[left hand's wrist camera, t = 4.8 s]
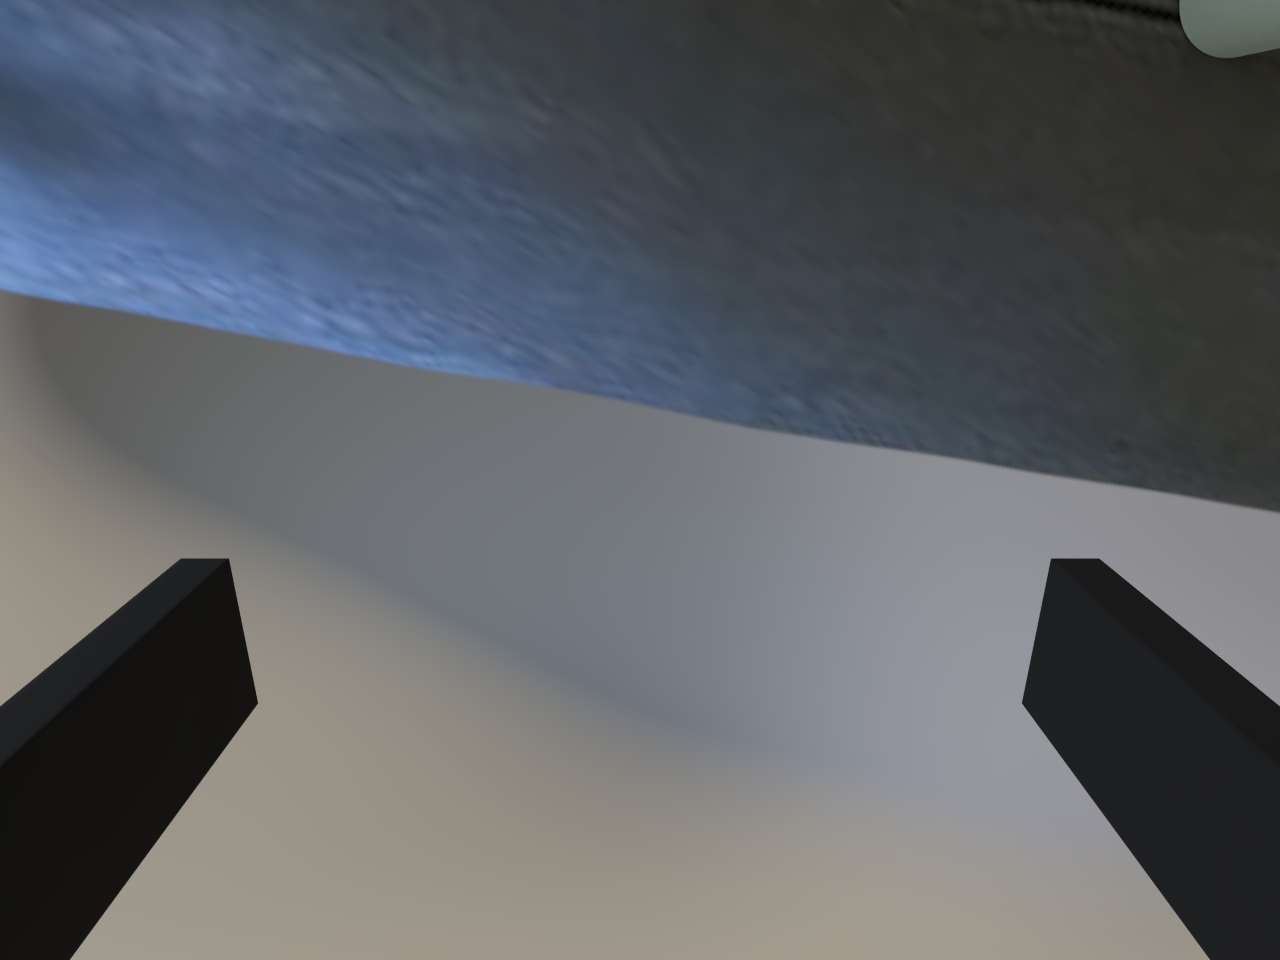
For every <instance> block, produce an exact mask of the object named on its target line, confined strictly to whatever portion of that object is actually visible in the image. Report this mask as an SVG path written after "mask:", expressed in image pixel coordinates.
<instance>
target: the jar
mask: <svg viewBox="0 0 1280 960" xmlns="http://www.w3.org/2000/svg"><path fill="white" fill-rule="evenodd" d="M1179 11H1180V19H1181V23H1182V26H1183V29H1184V31H1185V33H1186V35H1187V37H1188V39H1189V40H1190V41H1191V43H1192V44H1193V45H1194V46H1195V47H1196V48H1198V49H1199V50H1201V51H1202V52H1204V53H1206V54H1208V55H1210V56H1214V57H1219V58H1234V57H1240V56H1245V55H1249V54H1254V53H1259V52H1264V51H1268V50H1273V49H1278V48H1280V0H1180V1H1179Z"/></svg>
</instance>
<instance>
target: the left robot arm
mask: <svg viewBox="0 0 1280 960" xmlns="http://www.w3.org/2000/svg"><path fill="white" fill-rule="evenodd" d="M257 704H258V701H257V696H256V691H255V686H254V681H253V676H252V671H251V666H250V661H249V656H248V651H247V646H246V641H245V636H244V631H243V626H242V621H241V616H240V611H239V606H238V601H237V597H236V592H235V587H234V582H233V577H232V572H231V567H230V562H229V559H180V560H179V561H177V562H176V563H175V564H174V565H172V566H171V567H170V568H169V569H168V570H166V571H165V572H164V573H163V574H161V575H160V576H159V577H158V578H157V579H155V580H154V581H153V582H152V583H150V584H149V585H148V586H147V587H146V588H144V589H143V590H142V591H141V592H139V593H138V594H137V595H136V596H135V597H133V598H132V599H131V600H130V601H128V602H127V603H126V604H125V605H124V606H122V607H121V608H120V609H119V610H117V611H116V612H115V613H114V614H113V615H111V616H110V617H109V618H108V619H106V620H105V621H104V622H103V623H102V624H100V625H99V626H98V627H97V628H95V629H94V630H93V631H92V632H91V633H89V634H88V635H87V636H86V637H84V638H83V639H82V640H81V641H80V642H78V643H77V644H76V645H75V646H73V647H72V648H71V649H70V650H69V651H67V652H66V653H65V654H64V655H62V656H61V657H60V658H59V659H58V660H56V661H55V662H54V663H53V664H51V665H50V666H49V667H48V668H47V669H45V670H44V671H43V672H42V673H40V674H39V675H38V676H37V677H36V678H34V679H33V680H32V681H31V682H30V683H28V684H27V685H26V686H25V687H23V688H22V689H21V690H20V691H19V692H17V693H16V694H15V695H14V696H12V697H11V698H10V699H9V700H7V701H6V702H5V703H4V704H3V705H1V706H0V960H70V959H71V957H72V956H73V955H74V953H75V952H76V951H77V949H78V948H79V947H80V945H81V944H82V942H83V941H84V940H85V938H86V937H87V936H88V934H89V933H90V932H91V930H92V929H93V927H94V926H95V925H96V923H97V922H98V921H99V919H100V918H101V917H102V915H103V914H104V912H105V911H106V910H107V908H108V907H109V906H110V904H111V903H112V902H113V900H114V899H115V897H116V896H117V895H118V893H119V892H120V891H121V889H122V888H123V887H124V885H125V884H126V883H127V881H128V880H129V878H130V877H131V876H132V874H133V873H134V872H135V870H136V869H137V868H138V866H139V865H140V863H141V862H142V861H143V859H144V858H145V857H146V855H147V854H148V853H149V851H150V850H151V848H152V847H153V846H154V844H155V843H156V842H157V840H158V839H159V838H160V836H161V835H162V833H163V832H164V831H165V829H166V828H167V827H168V825H169V824H170V823H171V821H172V820H173V818H174V817H175V816H176V814H177V813H178V812H179V810H180V809H181V808H182V806H183V805H184V803H185V802H186V801H187V799H188V798H189V797H190V795H191V794H192V793H193V791H194V790H195V788H196V787H197V786H198V784H199V783H200V782H201V780H202V779H203V778H204V776H205V775H206V774H207V772H208V771H209V769H210V768H211V767H212V765H213V764H214V763H215V761H216V760H217V759H218V757H219V756H220V754H221V753H222V752H223V750H224V749H225V748H226V746H227V745H228V744H229V742H230V741H231V739H232V738H233V737H234V735H235V734H236V733H237V731H238V730H239V729H240V727H241V726H242V724H243V723H244V722H245V720H246V719H247V718H248V716H249V715H250V714H251V712H252V711H253V709H254V708H255V707H256V705H257ZM1022 704H1023V705H1024V707H1025V708H1026V709H1027V711H1028V712H1029V713H1030V715H1031V716H1032V718H1033V719H1034V720H1035V722H1036V723H1037V724H1038V726H1039V727H1040V729H1041V730H1042V731H1043V733H1044V734H1045V735H1046V737H1047V738H1048V739H1049V741H1050V742H1051V743H1052V745H1053V746H1054V748H1055V749H1056V750H1057V752H1058V753H1059V754H1060V756H1061V757H1062V758H1063V760H1064V761H1065V763H1066V764H1067V765H1068V767H1069V768H1070V769H1071V771H1072V772H1073V773H1074V775H1075V776H1076V778H1077V779H1078V780H1079V782H1080V783H1081V784H1082V786H1083V787H1084V788H1085V790H1086V791H1087V793H1088V794H1089V795H1090V797H1091V798H1092V799H1093V801H1094V802H1095V803H1096V805H1097V806H1098V808H1099V809H1100V810H1101V812H1102V813H1103V814H1104V816H1105V817H1106V818H1107V820H1108V821H1109V823H1110V824H1111V825H1112V827H1113V828H1114V829H1115V831H1116V832H1117V833H1118V835H1119V836H1120V837H1121V839H1122V840H1123V842H1124V843H1125V844H1126V846H1127V847H1128V848H1129V850H1130V851H1131V853H1132V854H1133V855H1134V857H1135V858H1136V859H1137V861H1138V862H1139V863H1140V865H1141V866H1142V867H1143V869H1144V870H1145V872H1146V873H1147V874H1148V876H1149V877H1150V878H1151V880H1152V881H1153V882H1154V884H1155V885H1156V887H1157V888H1158V889H1159V891H1160V892H1161V893H1162V895H1163V896H1164V897H1165V899H1166V900H1167V902H1168V903H1169V904H1170V906H1171V907H1172V908H1173V910H1174V911H1175V912H1176V914H1177V915H1178V917H1179V918H1180V919H1181V921H1182V922H1183V923H1184V925H1185V926H1186V927H1187V929H1188V930H1189V931H1190V933H1191V934H1192V936H1193V937H1194V938H1195V940H1196V941H1197V942H1198V944H1199V945H1200V947H1201V948H1202V949H1203V951H1204V952H1205V953H1206V955H1207V956H1208V957H1209V959H1210V960H1280V706H1279V705H1277V704H1276V703H1275V702H1274V701H1273V700H1271V699H1270V698H1269V697H1268V696H1266V695H1265V694H1264V693H1263V692H1262V691H1260V690H1259V689H1258V688H1257V687H1255V686H1254V685H1253V684H1252V683H1250V682H1249V681H1248V680H1247V679H1246V678H1244V677H1243V676H1242V675H1241V674H1239V673H1238V672H1237V671H1236V670H1235V669H1233V668H1232V667H1231V666H1230V665H1229V664H1227V663H1226V662H1225V661H1224V660H1222V659H1221V658H1220V657H1219V656H1217V655H1216V654H1215V653H1214V652H1213V651H1211V650H1210V649H1209V648H1208V647H1207V646H1205V645H1204V644H1203V643H1202V642H1200V641H1199V640H1198V639H1197V638H1196V637H1194V636H1193V635H1192V634H1191V633H1189V632H1188V631H1187V630H1186V629H1185V628H1183V627H1182V626H1181V625H1180V624H1178V623H1177V622H1176V621H1175V620H1174V619H1172V618H1171V617H1170V616H1169V615H1167V614H1166V613H1165V612H1164V611H1163V610H1161V609H1160V608H1159V607H1158V606H1156V605H1155V604H1154V603H1153V602H1152V601H1150V600H1149V599H1148V598H1147V597H1145V596H1144V595H1143V594H1142V593H1141V592H1139V591H1138V590H1137V589H1136V588H1134V587H1133V586H1132V585H1131V584H1130V583H1128V582H1127V581H1126V580H1125V579H1123V578H1122V577H1121V576H1120V575H1119V574H1117V573H1116V572H1115V571H1114V570H1112V569H1111V568H1110V567H1109V566H1108V565H1106V564H1105V563H1104V562H1103V561H1101V560H1100V559H1051V562H1050V567H1049V572H1048V577H1047V582H1046V587H1045V592H1044V597H1043V602H1042V606H1041V611H1040V616H1039V621H1038V627H1037V631H1036V636H1035V641H1034V646H1033V651H1032V656H1031V661H1030V666H1029V671H1028V676H1027V681H1026V686H1025V691H1024V696H1023V701H1022Z"/></svg>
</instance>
